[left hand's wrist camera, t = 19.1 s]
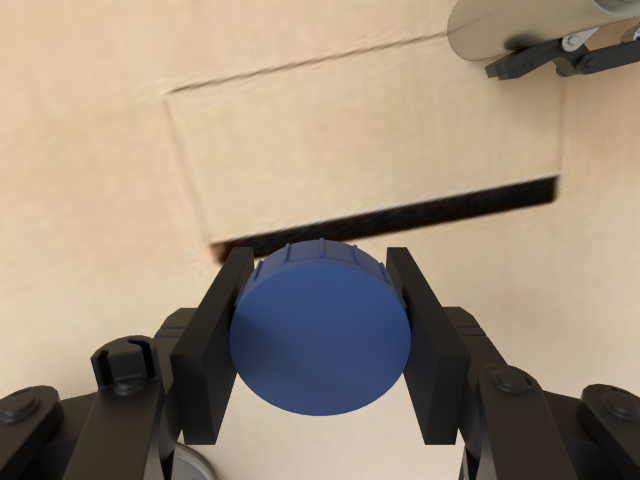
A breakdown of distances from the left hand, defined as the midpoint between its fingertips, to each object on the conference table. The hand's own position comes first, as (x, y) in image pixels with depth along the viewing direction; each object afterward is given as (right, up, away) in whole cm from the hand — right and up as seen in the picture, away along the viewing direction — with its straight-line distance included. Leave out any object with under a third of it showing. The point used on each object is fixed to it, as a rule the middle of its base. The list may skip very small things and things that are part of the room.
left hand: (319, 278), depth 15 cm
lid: (0, -1, -4) cm, 4 cm away
